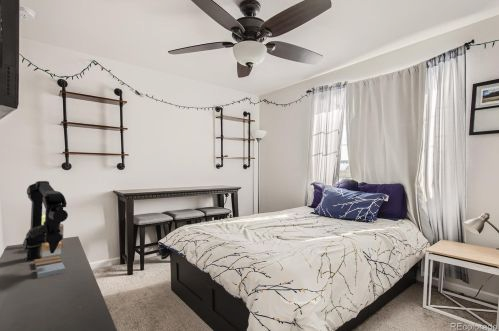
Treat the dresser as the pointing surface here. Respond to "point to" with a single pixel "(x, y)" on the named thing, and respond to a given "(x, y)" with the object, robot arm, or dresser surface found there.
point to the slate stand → (50, 270)
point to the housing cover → (46, 246)
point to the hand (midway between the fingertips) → (51, 251)
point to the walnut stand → (47, 261)
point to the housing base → (47, 253)
